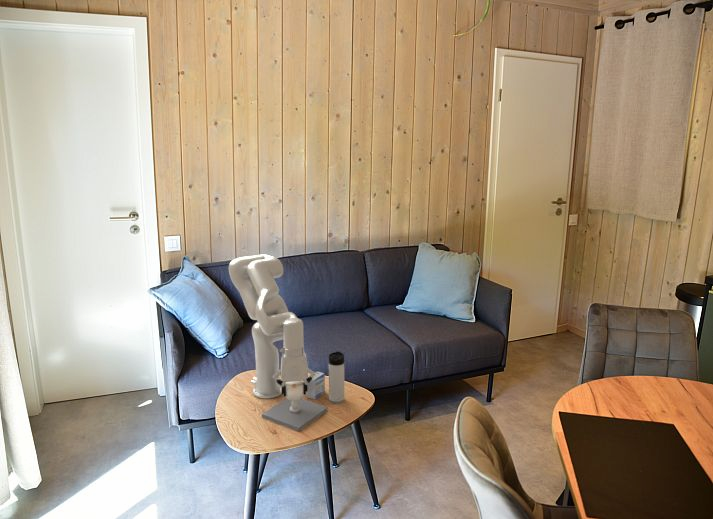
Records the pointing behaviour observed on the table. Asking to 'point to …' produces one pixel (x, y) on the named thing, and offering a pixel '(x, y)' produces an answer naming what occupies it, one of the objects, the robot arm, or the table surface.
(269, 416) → the post base
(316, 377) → the medicine box
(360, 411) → the table surface
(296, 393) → the cap
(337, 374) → the travel mug
